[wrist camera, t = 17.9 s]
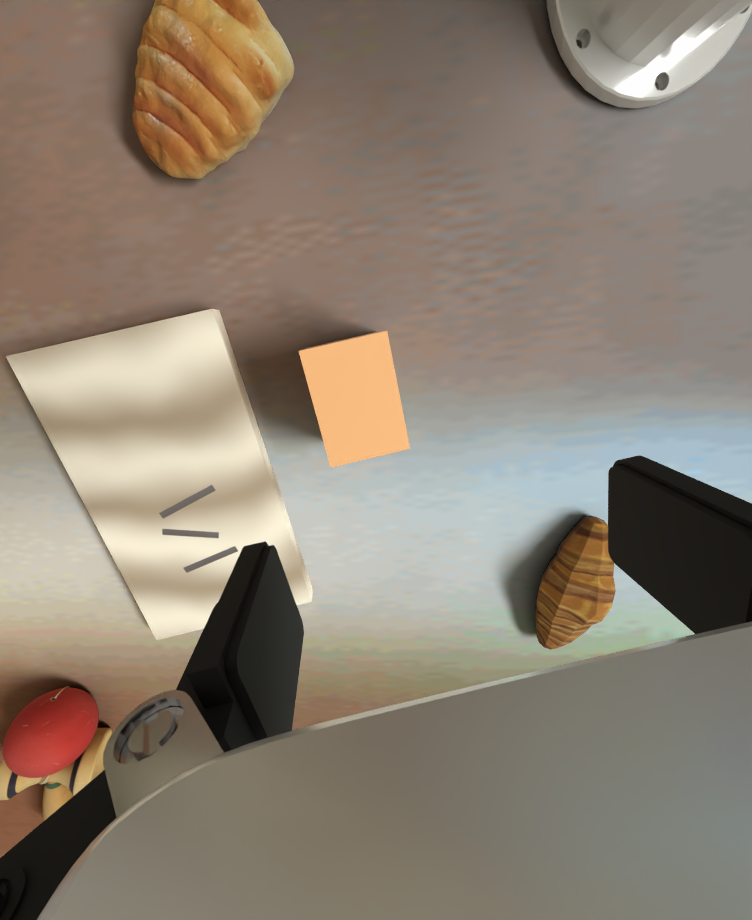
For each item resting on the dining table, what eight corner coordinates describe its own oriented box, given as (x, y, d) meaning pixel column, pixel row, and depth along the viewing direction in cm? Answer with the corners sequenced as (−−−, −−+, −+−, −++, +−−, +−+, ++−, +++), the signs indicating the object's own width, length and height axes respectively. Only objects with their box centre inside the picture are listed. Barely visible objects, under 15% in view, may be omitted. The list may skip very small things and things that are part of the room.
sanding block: (306, 347, 26) (298, 351, 21) (376, 331, 26) (386, 330, 21) (331, 441, 29) (330, 467, 23) (395, 426, 29) (410, 448, 23)
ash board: (24, 355, 25) (5, 356, 23) (219, 310, 25) (211, 308, 23) (164, 626, 32) (156, 640, 31) (312, 590, 32) (311, 601, 31)
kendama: (128, 793, 40) (126, 687, 32) (79, 877, 34) (62, 771, 27) (58, 772, 40) (40, 662, 32) (-3, 853, 34) (-43, 741, 27)
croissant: (551, 505, 32) (587, 534, 28) (620, 515, 33) (667, 545, 29) (505, 631, 36) (530, 676, 32) (568, 637, 37) (602, 681, 33)
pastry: (218, 217, 24) (196, 195, 20) (114, 132, 22) (69, 91, 18) (304, 72, 22) (298, 20, 18) (198, -33, 20) (167, -114, 16)
